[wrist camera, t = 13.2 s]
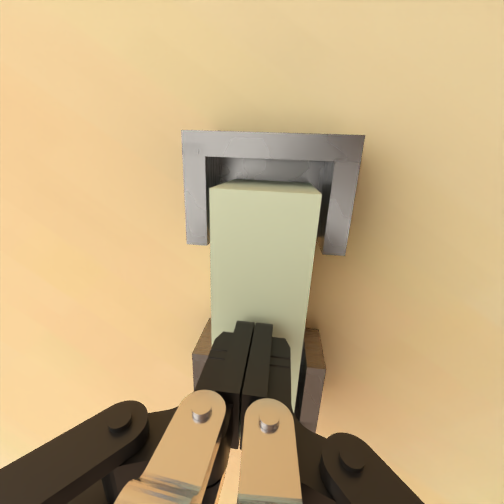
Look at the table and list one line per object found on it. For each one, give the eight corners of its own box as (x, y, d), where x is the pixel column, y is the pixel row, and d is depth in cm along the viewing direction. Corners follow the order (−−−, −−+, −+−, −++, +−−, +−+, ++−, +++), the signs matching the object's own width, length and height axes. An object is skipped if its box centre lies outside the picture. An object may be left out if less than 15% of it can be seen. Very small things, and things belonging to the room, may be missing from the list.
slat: (234, 178, 14) (209, 188, 9) (309, 182, 14) (322, 194, 9) (231, 363, 18) (213, 433, 14) (289, 370, 18) (290, 444, 13)
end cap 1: (205, 136, 14) (181, 130, 11) (345, 141, 13) (365, 135, 10) (207, 226, 16) (186, 244, 13) (332, 235, 15) (344, 255, 12)
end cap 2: (309, 387, 19) (315, 435, 16) (210, 374, 20) (195, 417, 16) (318, 329, 17) (326, 369, 14) (209, 318, 18) (192, 353, 15)
